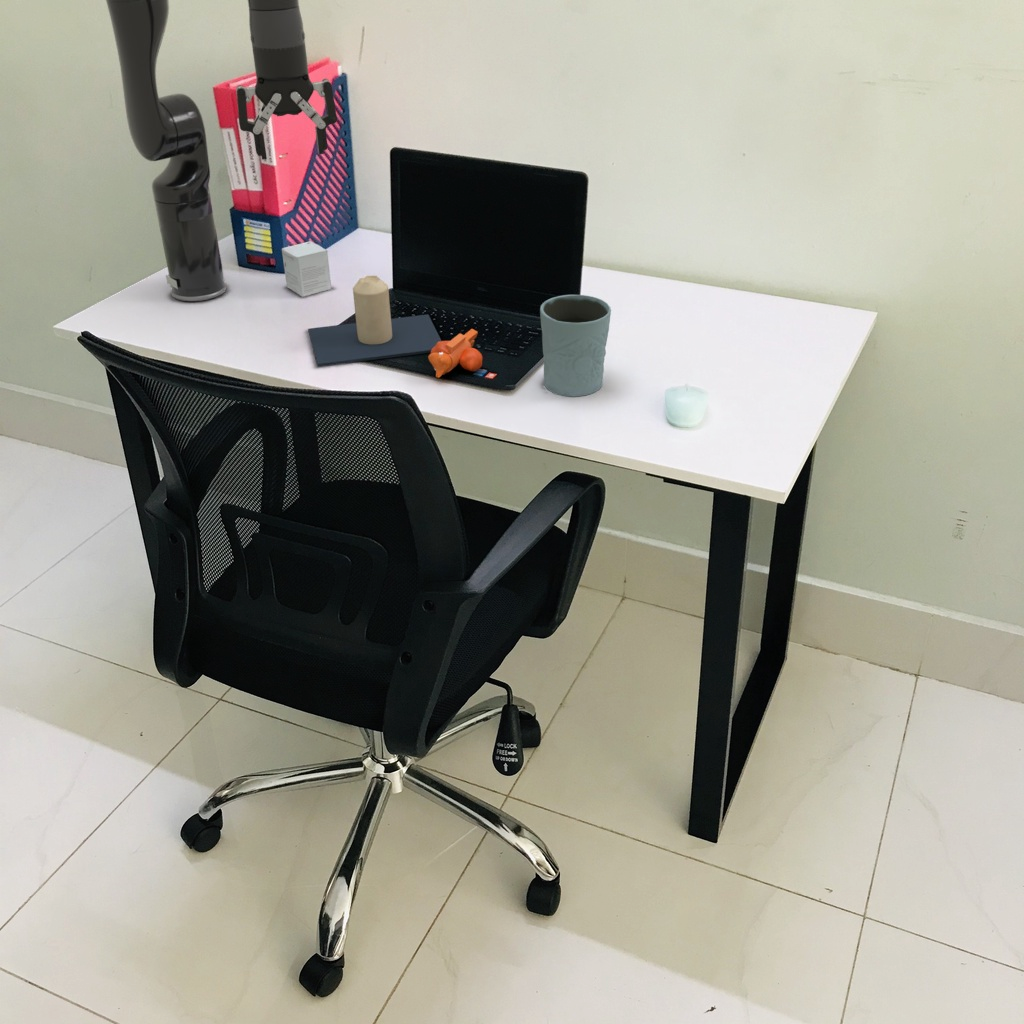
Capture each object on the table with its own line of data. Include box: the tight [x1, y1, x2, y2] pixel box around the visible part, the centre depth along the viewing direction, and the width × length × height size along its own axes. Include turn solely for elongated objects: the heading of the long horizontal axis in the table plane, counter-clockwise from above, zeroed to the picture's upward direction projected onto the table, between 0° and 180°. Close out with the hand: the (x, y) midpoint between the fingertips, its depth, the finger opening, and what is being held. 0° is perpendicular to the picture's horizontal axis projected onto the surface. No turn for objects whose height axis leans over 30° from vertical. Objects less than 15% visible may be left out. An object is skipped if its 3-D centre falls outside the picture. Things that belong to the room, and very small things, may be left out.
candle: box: [352, 275, 392, 345], centre depth 176 cm, size 6×6×10 cm
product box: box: [281, 240, 332, 298], centre depth 197 cm, size 6×6×7 cm
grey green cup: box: [539, 294, 612, 397], centre depth 162 cm, size 10×10×12 cm
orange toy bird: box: [427, 328, 483, 378], centre depth 169 cm, size 5×8×12 cm
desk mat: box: [307, 314, 442, 368], centre depth 179 cm, size 14×20×1 cm
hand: (292, 155), depth 169 cm, fingers open, 8 cm apart
